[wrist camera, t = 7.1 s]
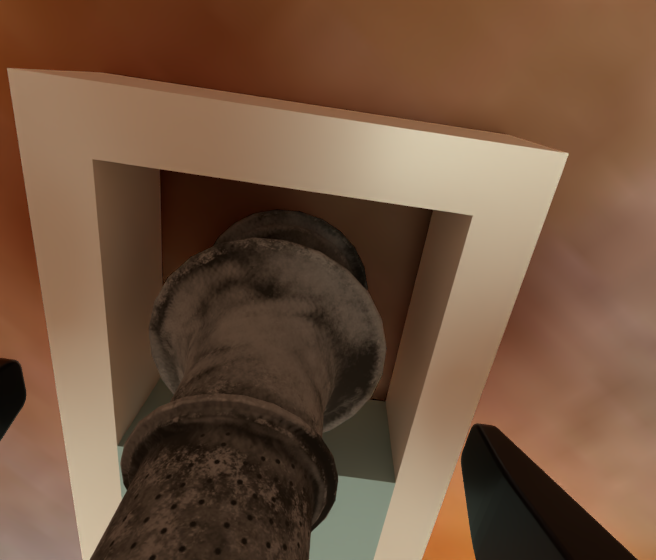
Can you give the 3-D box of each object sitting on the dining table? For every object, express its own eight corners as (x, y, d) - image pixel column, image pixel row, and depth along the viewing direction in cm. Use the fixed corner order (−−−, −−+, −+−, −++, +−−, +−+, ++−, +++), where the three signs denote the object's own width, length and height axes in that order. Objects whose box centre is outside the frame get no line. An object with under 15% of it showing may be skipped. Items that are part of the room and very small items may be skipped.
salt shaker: (162, 232, 13) (-698, 932, 2) (345, 173, 12) (343, 884, 1) (237, 381, 15) (-20, 1093, 5) (397, 341, 15) (554, 1117, 4)
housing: (362, 620, 21) (365, 715, 18) (138, 592, 21) (101, 683, 18) (508, 134, 12) (568, 153, 8) (101, 72, 11) (6, 67, 8)
